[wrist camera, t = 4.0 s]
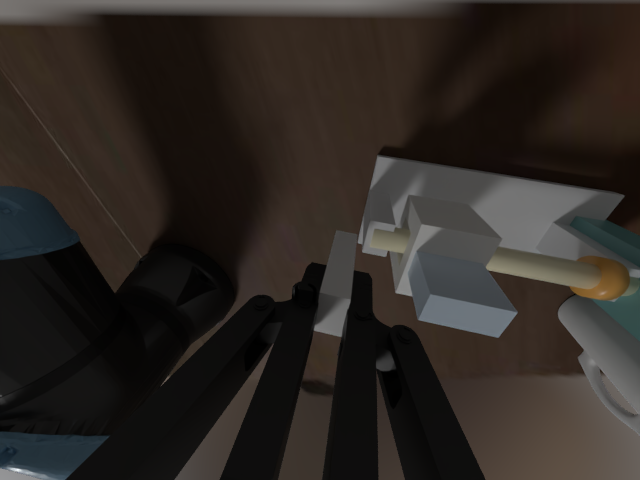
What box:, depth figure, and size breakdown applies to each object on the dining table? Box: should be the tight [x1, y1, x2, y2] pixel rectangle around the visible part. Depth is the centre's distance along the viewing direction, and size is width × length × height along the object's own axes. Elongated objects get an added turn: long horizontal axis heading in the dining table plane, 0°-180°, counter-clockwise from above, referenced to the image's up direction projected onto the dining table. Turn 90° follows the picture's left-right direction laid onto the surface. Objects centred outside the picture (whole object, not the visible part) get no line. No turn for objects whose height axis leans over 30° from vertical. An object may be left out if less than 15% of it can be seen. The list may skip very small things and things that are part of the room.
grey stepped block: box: [390, 194, 518, 337], centre depth 17 cm, size 5×6×10 cm
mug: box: [558, 294, 640, 436], centre depth 24 cm, size 10×7×12 cm, turn 177°
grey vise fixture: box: [358, 155, 640, 342], centre depth 20 cm, size 22×10×12 cm, turn 83°
